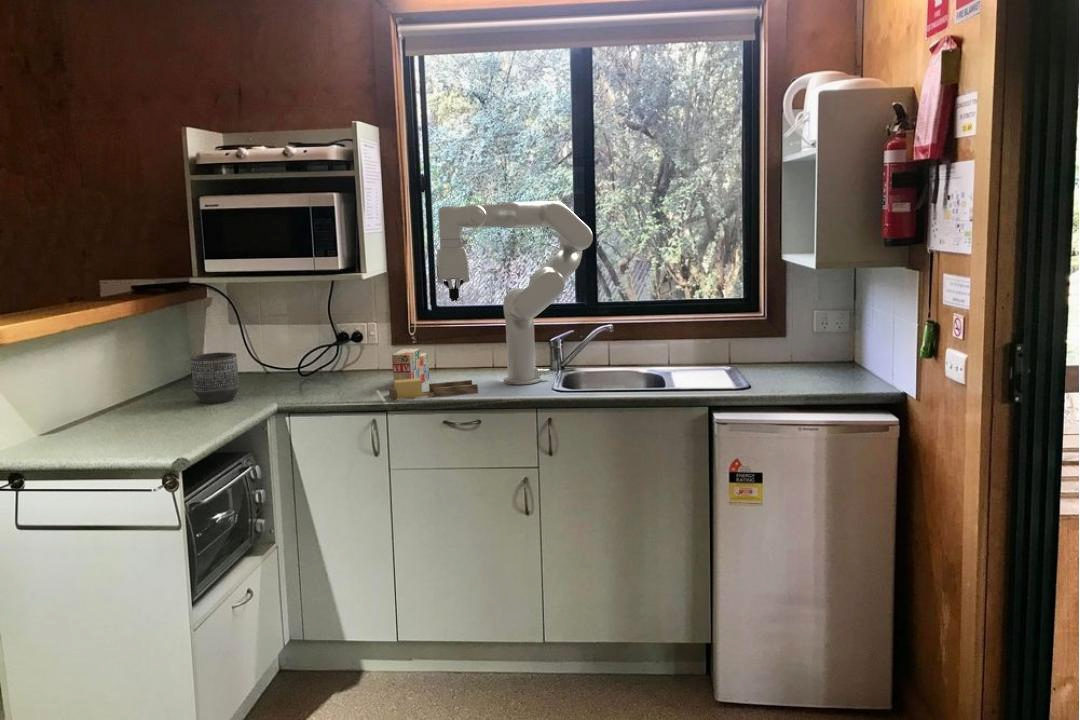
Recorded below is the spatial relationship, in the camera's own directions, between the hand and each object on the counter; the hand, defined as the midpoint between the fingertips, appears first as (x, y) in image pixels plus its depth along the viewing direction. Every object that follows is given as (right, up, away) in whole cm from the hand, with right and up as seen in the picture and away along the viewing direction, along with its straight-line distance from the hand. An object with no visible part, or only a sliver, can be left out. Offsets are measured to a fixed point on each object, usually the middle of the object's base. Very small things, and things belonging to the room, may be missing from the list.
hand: (454, 300), depth 311 cm
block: (-14, -31, -11) cm, 36 cm away
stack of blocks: (-16, -28, +14) cm, 35 cm away
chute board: (-6, -31, -9) cm, 33 cm away
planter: (-77, -33, -3) cm, 84 cm away
